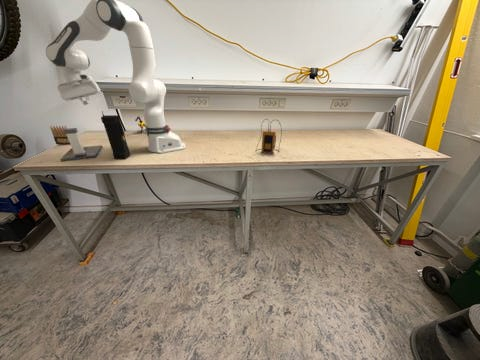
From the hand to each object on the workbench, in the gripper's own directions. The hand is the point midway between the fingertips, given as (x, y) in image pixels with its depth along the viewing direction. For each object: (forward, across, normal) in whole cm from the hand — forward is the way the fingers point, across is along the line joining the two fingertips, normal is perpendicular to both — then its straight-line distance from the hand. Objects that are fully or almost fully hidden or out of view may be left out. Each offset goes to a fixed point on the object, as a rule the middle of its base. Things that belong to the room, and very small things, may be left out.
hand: (86, 104), depth 118 cm
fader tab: (+28, -9, -14) cm, 33 cm away
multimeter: (+59, +94, -26) cm, 114 cm away
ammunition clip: (+16, -26, +13) cm, 34 cm away
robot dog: (+22, +20, +30) cm, 42 cm away
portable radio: (+37, +12, -18) cm, 43 cm away
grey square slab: (+28, -10, -9) cm, 31 cm away
